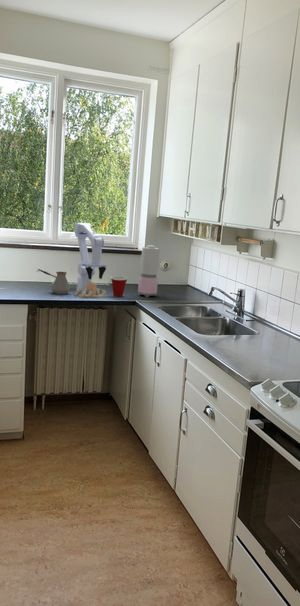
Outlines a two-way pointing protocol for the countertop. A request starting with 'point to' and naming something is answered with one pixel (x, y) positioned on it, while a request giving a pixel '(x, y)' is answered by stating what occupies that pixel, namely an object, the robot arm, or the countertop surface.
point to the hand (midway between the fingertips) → (95, 278)
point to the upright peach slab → (91, 287)
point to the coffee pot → (59, 283)
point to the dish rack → (90, 293)
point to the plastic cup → (118, 285)
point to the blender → (148, 271)
